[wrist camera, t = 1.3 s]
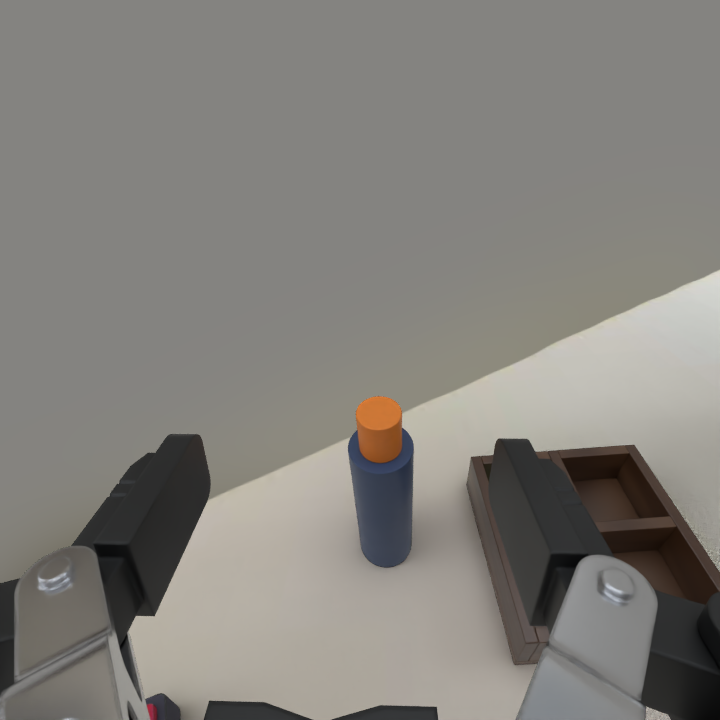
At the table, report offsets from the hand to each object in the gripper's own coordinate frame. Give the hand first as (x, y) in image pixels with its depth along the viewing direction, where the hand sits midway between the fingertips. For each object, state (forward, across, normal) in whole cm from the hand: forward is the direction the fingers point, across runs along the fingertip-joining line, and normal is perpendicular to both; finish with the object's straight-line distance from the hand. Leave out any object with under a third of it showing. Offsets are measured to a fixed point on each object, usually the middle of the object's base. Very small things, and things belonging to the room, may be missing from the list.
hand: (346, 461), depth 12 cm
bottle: (+14, -2, +20) cm, 25 cm away
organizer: (+13, -16, +20) cm, 29 cm away
